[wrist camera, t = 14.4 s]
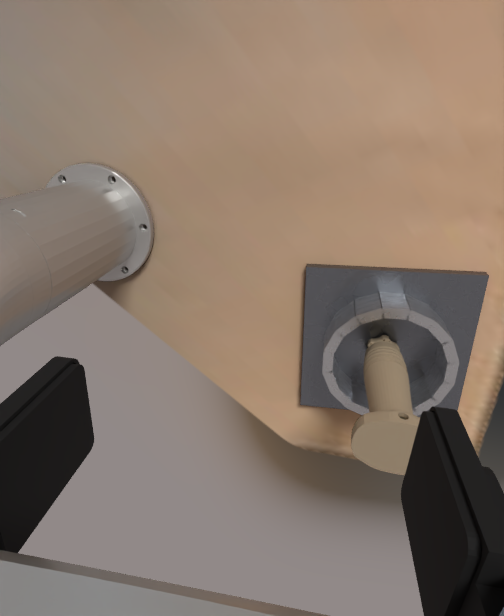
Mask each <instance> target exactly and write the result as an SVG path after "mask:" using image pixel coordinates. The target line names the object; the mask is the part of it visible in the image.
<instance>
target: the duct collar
mask: <svg viewBox="0 0 504 616" xmlns="http://www.w3.org/2000/svg"><path fill="white" fill-rule="evenodd" d="M488 278H489V275H488V274H487V273H486V272H473V271H451V270H429V269H408V268H386V267H364V266H343V265H321V264H307V266H306V287H305V310H304V334H303V357H302V381H301V404H300V405H308V406H317V407H327V408H336V409H346V410H351V411H354V412H356V413H358V414H360V415H364V414H366V413H370V412H369V406H368V399H367V394H366V388H365V382H364V369H363V368H364V358H365V352H366V349H367V348H368V341H369V340H370V339H371V338H373V339H374V338H379V337H381V336H382V335H386V336H388V337H389V339H390V340H391V341H392V342H394V343H397V345H398V347H399V349H400V353H401V354H402V356H403V359H404V362H405V364H406V368H407V372H408V377H409V385H410V394H411V403H412V410H413V414H414V415H416V416H417V417H421V414H422V412H423V411H429V410H430V408H431V407H432V406H434V407H442V408H449V409H455V410H458V406H459V402H460V397H461V393H462V389H463V384H464V380H465V376H466V372H467V367H468V363H469V359H470V355H471V350H472V346H473V342H474V337H475V333H476V329H477V325H478V320H479V316H480V312H481V308H482V303H483V299H484V295H485V290H486V286H487V282H488Z"/></svg>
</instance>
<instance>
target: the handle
mask: <svg viewBox="0 0 504 616" xmlns="http://www.w3.org/2000/svg"><path fill="white" fill-rule="evenodd" d="M363 369H364V382H365V388H366V394H367V399H368V406H369V412H370V413H366V414H364V415H362V416H361V417H360V418H359V419H357V421H356V422H355V424H354V427H353V429H352V435H351V447H352V452H353V454H354V456H355V457H356V458H358V459H359V460H361V461H362V462H364V463H365V464H367V465H369V466H371V467H373V468H375V469H378V470H381V471H385V472H389V473H394V474H399V475H405V473H406V469H407V466H408V462H409V458H410V454H411V451H412V447H413V443H414V439H415V436H416V432H417V428H418V425H419V421H420V418H419V417H417V416H416V415H414V414H413V410H412V403H411V394H410V385H409V377H408V372H407V368H406V364H405V362H404V359H403V356H402V354H401V353H400V349H399V347H398V345H397V343H394V342H392V341H391V340H390V339H389V337H388V336H386V335H382V336H381V337H379V338H374V339H373V338H371V339H370V340H369V341H368V348H367V349H366V352H365V358H364V368H363Z"/></svg>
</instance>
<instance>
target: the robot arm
mask: <svg viewBox="0 0 504 616" xmlns="http://www.w3.org/2000/svg"><path fill="white" fill-rule="evenodd" d="M114 177H115V179H116V181H115V180H114ZM145 225H146V226H147V228H146V227H145ZM153 239H154V225H153V220H152V216H151V212H150V209H149V207H148V205H147V202H146V200H145V199H144V197H143V196H142V194H141V192H140V191H139V190H138V188H137V187H136V186H135V185H134V184H133V183H132V182H131V181H130V180H129V179H128V178H126V177H125V176H124V175H123V174H121V173H120V172H118V171H116V170H114V169H112V168H111V167H108V166H104V165H101V164H96V163H81V164H75V165H71V166H68V167H66V168H64V169H62V170H60V171H59V172H58V173H56V174H55V175H54V176H53V177H52V178H51V180H50V181H49V182H48V184H47V185H46V188H45V189H41V190H37V191H33V192H29V193H25V194H20V195H16V196H12V197H8V198H4V199H0V346H1V345H2V344H4V343H5V342H6V341H8V340H9V339H10V338H12V337H13V336H15V335H16V334H17V333H19V332H20V331H22V330H23V329H25V328H26V327H28V326H29V325H31V324H32V323H34V322H35V321H37V320H38V319H40V318H41V317H43V316H44V315H46V314H47V313H49V312H50V311H52V310H53V309H55V308H56V307H58V306H59V305H61V304H62V303H63V302H65V301H67V300H68V299H70V298H71V297H72V296H74V295H75V294H77V293H78V292H80V291H81V290H83V289H84V288H86V287H87V286H89V285H90V284H92V283H93V282H95V281H96V280H98V281H116V280H120V279H124V278H126V277H128V276H130V275H131V274H133V273H134V272H135V271H137V270H138V269H139V268H140V267H141V266H142V265H143V264H144V263H145V261H146V260H147V258H148V256H149V255H150V252H151V249H152V246H153ZM93 443H94V433H93V427H92V420H91V413H90V406H89V399H88V392H87V385H86V378H85V371H84V367H83V366H82V365H80V364H79V362H78V360H76V359H72V358H65V357H54V358H52V359H51V360H50V361H49V362H48V363H47V364H46V365H45V366H43V367H42V368H41V369H40V370H39V371H38V372H36V373H35V374H34V375H33V376H32V377H31V378H30V379H28V380H27V381H26V382H25V383H24V384H23V385H22V386H20V387H19V388H18V389H17V390H16V391H15V392H14V393H12V394H11V395H10V396H9V397H8V398H7V399H6V400H4V401H3V402H2V403H1V404H0V616H328V615H323V614H318V613H313V612H308V611H304V610H299V609H294V608H289V607H284V606H280V605H275V604H270V603H265V602H260V601H255V600H250V599H245V598H241V597H236V596H231V595H226V594H221V593H216V592H211V591H206V590H201V589H196V588H191V587H186V586H181V585H176V584H171V583H167V582H161V581H156V580H151V579H146V578H141V577H136V576H131V575H126V574H121V573H116V572H111V571H106V570H101V569H96V568H91V567H86V566H80V565H75V564H70V563H65V562H60V561H55V560H49V559H44V558H39V557H34V556H29V555H24V554H19V553H18V552H19V550H20V549H21V548H22V546H23V545H24V543H25V542H26V541H27V539H28V538H29V536H30V535H31V533H32V532H33V531H34V529H35V528H36V527H37V525H38V523H39V522H40V521H41V520H42V518H43V517H44V515H45V514H46V513H47V511H48V510H49V508H50V507H51V506H52V504H53V503H54V501H55V500H56V498H57V497H58V496H59V494H60V493H61V491H62V490H63V489H64V487H65V486H66V484H67V483H68V482H69V480H70V479H71V477H72V476H73V475H74V473H75V472H76V470H77V469H78V468H79V466H80V465H81V463H82V462H83V461H84V459H85V458H86V456H87V455H88V454H89V452H90V451H91V449H92V446H93ZM401 500H402V505H403V511H404V516H405V521H406V526H407V531H408V536H409V541H410V546H411V551H412V556H413V561H414V566H415V572H416V577H417V581H418V587H419V592H420V596H421V602H422V607H423V612H424V616H504V493H503V491H502V489H501V487H500V484H499V482H498V480H497V478H496V476H495V474H494V473H493V471H492V470H491V469H490V468H488V467H483V466H482V465H481V463H480V461H479V458H478V456H477V454H476V452H475V450H474V447H473V445H472V443H471V441H470V438H469V436H468V434H467V432H466V429H465V427H464V425H463V423H462V420H461V418H460V416H459V414H458V412H457V410H455V409H449V408H442V407H434V406H432V407H431V408H430V410H429V411H423V412H422V414H421V417H420V421H419V425H418V428H417V432H416V436H415V439H414V443H413V447H412V451H411V454H410V458H409V462H408V466H407V469H406V473H405V477H404V480H403V484H402V490H401Z"/></svg>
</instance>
